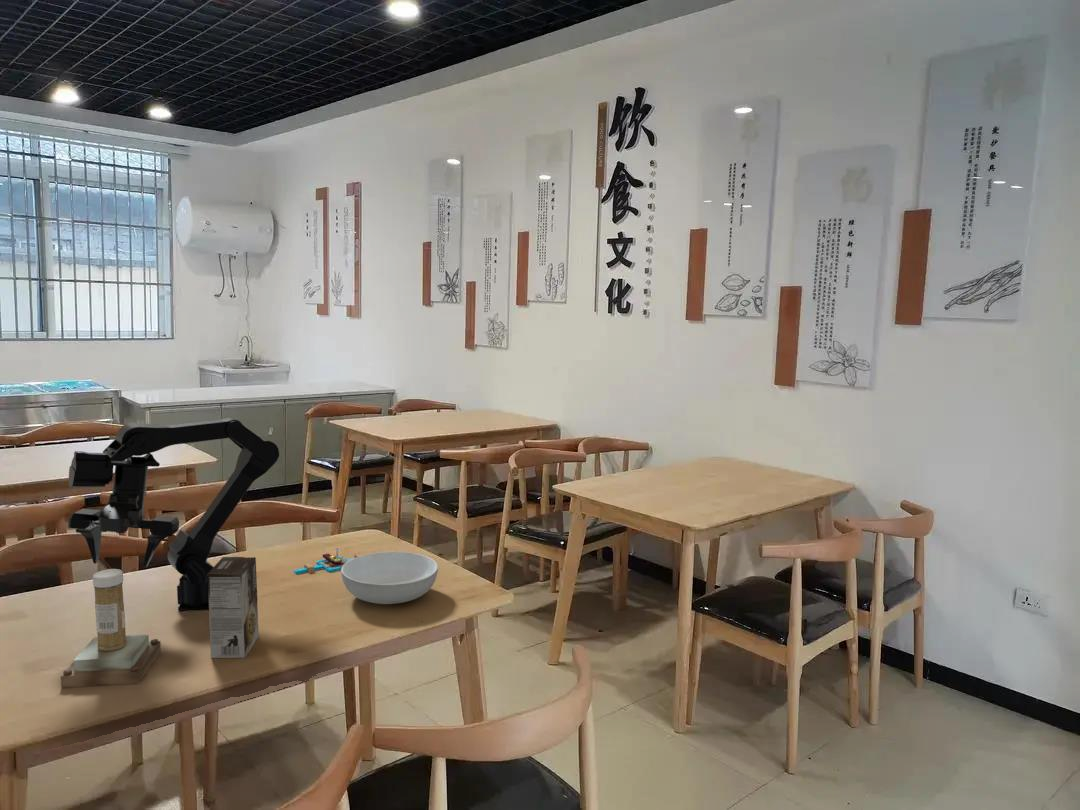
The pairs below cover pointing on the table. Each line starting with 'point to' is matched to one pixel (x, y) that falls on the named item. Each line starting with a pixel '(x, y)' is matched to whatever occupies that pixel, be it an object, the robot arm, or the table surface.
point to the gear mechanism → (326, 563)
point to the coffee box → (233, 607)
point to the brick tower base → (113, 674)
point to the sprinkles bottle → (109, 609)
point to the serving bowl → (389, 576)
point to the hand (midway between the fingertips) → (120, 565)
